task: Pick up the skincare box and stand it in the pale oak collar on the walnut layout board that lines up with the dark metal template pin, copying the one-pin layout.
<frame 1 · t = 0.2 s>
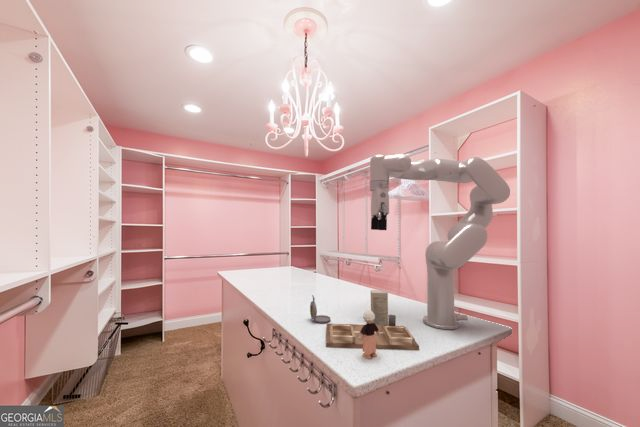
hand: (378, 229, 104), 36 cm above the worktop, tool pointing down, fingers open, 9 cm apart
skincare box: (378, 324, 101), on the worktop
pocket watch: (318, 321, 102), on the worktop
grandmother figurine: (368, 356, 75), on the worktop
layout board: (368, 337, 88), on the worktop
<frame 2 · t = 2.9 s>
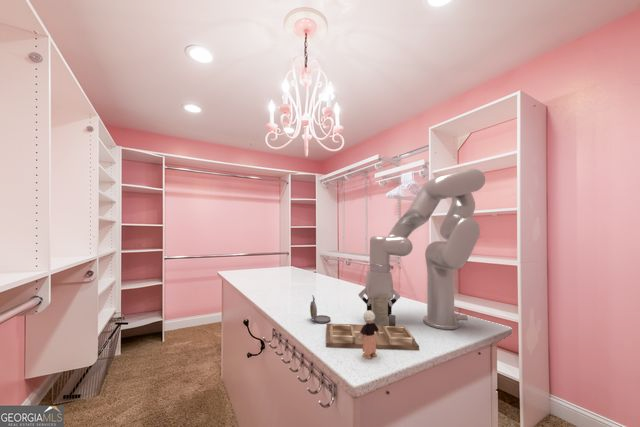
hand: (379, 315, 101), 3 cm above the worktop, tool pointing down, fingers closed on skincare box, 6 cm apart
skincare box: (378, 324, 101), on the worktop, touching gripper
everything else where it was.
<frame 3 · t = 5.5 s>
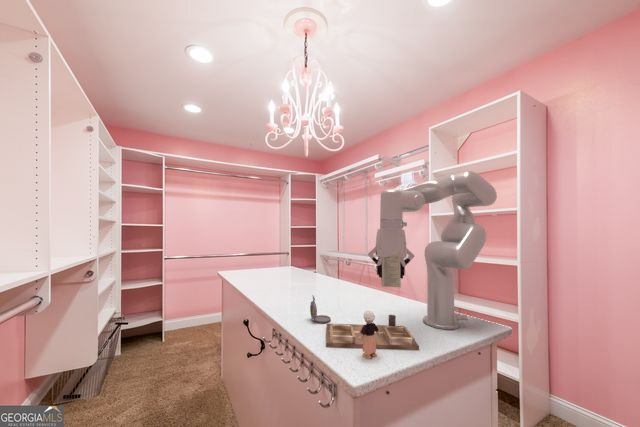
hand: (390, 276, 91), 20 cm above the worktop, tool pointing down, fingers closed on skincare box, 6 cm apart
skincare box: (390, 286, 91), point 16 cm above the worktop, touching gripper
everything else where it was.
when the fingers open (6 cm above the worktop, at t = 8.1 s): skincare box stays where it is, resting on layout board.
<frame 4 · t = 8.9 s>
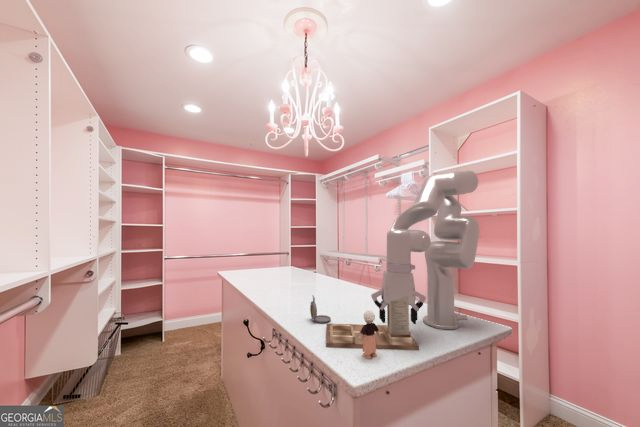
hand: (398, 321, 85), 6 cm above the worktop, tool pointing down, fingers open, 9 cm apart
skincare box: (397, 332, 84), point 3 cm above the worktop, touching layout board
everything else where it was.
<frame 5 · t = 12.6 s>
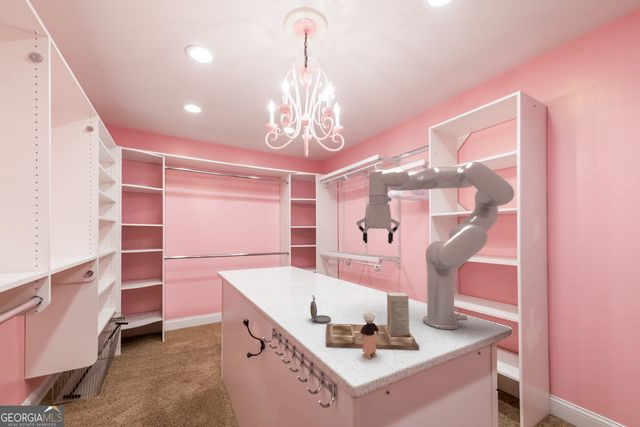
hand: (377, 243, 106), 30 cm above the worktop, tool pointing down, fingers open, 9 cm apart
nothing on the worktop moved.
at the end: skincare box 0.2 cm from the target spot on the layout board, point 3.0 cm above the layout board's base; skincare box tilted 0°; the gripper is holding nothing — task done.
